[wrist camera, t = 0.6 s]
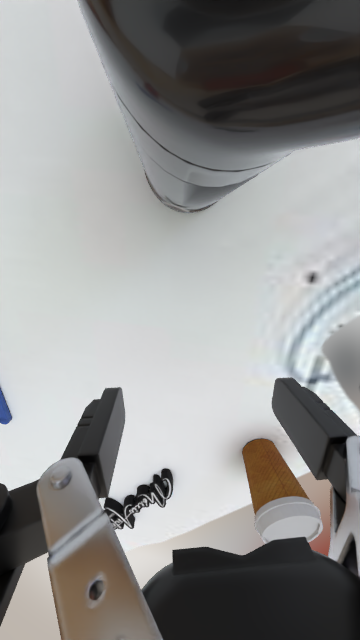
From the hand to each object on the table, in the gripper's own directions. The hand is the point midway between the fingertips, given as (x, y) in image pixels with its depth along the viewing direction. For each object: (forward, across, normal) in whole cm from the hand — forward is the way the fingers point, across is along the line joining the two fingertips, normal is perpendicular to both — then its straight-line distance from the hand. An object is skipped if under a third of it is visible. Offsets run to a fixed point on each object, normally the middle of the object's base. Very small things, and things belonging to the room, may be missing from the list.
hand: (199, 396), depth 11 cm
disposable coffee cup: (+20, -15, +30) cm, 39 cm away
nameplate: (+21, +12, +45) cm, 51 cm away
